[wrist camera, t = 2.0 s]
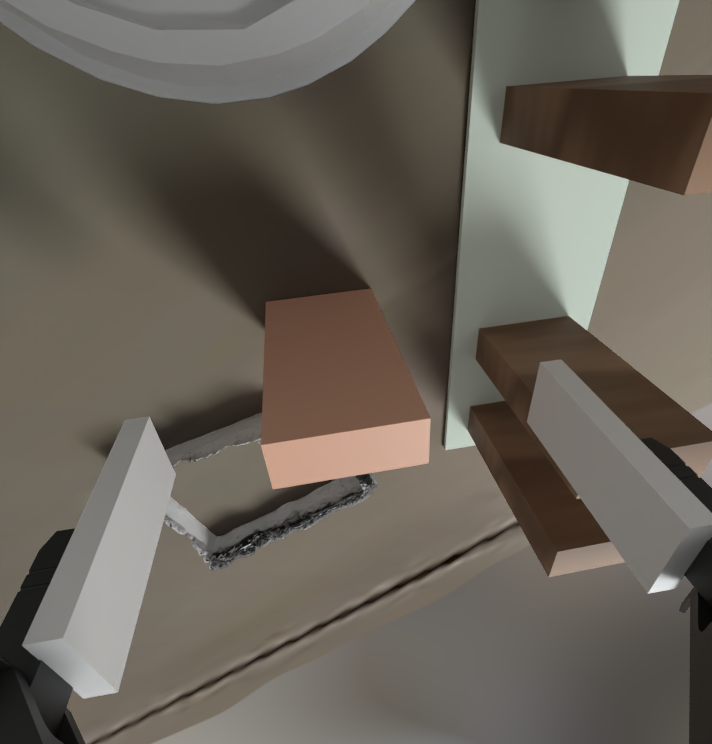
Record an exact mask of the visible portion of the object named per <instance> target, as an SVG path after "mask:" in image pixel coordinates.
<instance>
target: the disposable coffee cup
mask: <svg viewBox="0 0 712 744" xmlns="http://www.w3.org/2000/svg"><path fill="white" fill-rule="evenodd" d="M414 1H415V0H0V22H1V23H2V24H4V25H5V26H7V27H8V28H9V29H11V30H12V31H14V32H15V33H16V34H18V35H19V36H20V37H22V38H23V39H25V40H26V41H27V42H29V43H30V44H32V45H33V46H35V47H37V48H39V49H41V50H43V51H45V52H47V53H49V54H51V55H53V56H55V57H57V58H59V59H61V60H63V61H65V62H67V63H69V64H71V65H73V66H75V67H77V68H79V69H81V70H83V71H85V72H87V73H89V74H91V75H93V76H94V77H96V78H98V79H101V80H104V81H107V82H111V83H114V84H117V85H120V86H124V87H127V88H130V89H133V90H137V91H140V92H143V93H147V94H150V95H153V96H156V97H163V98H171V99H180V100H188V101H197V102H205V103H213V104H218V103H226V102H234V101H242V100H251V99H259V98H267V97H272V96H275V95H278V94H281V93H284V92H287V91H290V90H293V89H296V88H299V87H302V86H305V85H308V84H310V83H312V82H314V81H316V80H318V79H319V78H321V77H323V76H325V75H327V74H329V73H330V72H332V71H334V70H336V69H338V68H340V67H341V66H343V65H345V64H347V63H349V62H351V61H352V60H353V59H355V58H356V57H357V56H358V55H359V54H361V53H362V52H363V51H364V50H365V49H367V48H368V47H369V46H370V45H371V44H373V43H374V42H375V41H376V40H378V39H379V38H380V37H381V36H382V35H384V34H385V33H386V32H387V31H388V30H389V29H390V27H391V26H392V25H393V24H394V23H395V22H396V21H397V20H398V19H399V18H400V17H401V16H402V14H403V13H404V12H405V11H406V10H407V9H408V8H409V7H410V6H411V5H412V4H413V3H414Z"/></svg>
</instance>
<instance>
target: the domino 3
mask: <svg viewBox="0 0 712 744" xmlns="http://www.w3.org/2000/svg"><path fill="white" fill-rule="evenodd" d="M560 359H561V360H562V361H563V362H564V363H565V364H566V365H567V366H568V367H569V368H570V369H571V370H572V371H573V372H574V373H575V374H576V375H577V376H578V377H579V378H580V379H581V380H582V381H583V382H584V383H585V384H586V385H587V386H588V387H589V388H590V389H591V390H592V391H593V392H594V393H595V394H596V395H597V396H598V397H599V398H600V399H601V400H602V401H603V403H604V404H605V405H606V406H607V407H608V408H609V409H610V410H611V411H612V412H613V413H614V414H615V415H616V416H617V417H618V418H619V419H620V420H621V421H622V422H623V423H624V424H625V425H626V426H627V427H628V428H629V429H630V430H631V431H632V432H633V433H634V434H635V435H636V436H637V437H638V438H639V439H644V438H653V439H655V440H657V441H658V442H660V443H662V444H663V445H665V446H667V447H669V448H670V449H672V450H673V451H674V452H675V453H676V454H677V455H678V456H679V457H680V458H681V459H682V460H683V461H684V462H685V463H686V466H689V467H690V468H691V469H692V470H693V471H694V472H695V473H696V474H697V475H698V477H700V476H701V475H702V473H703V471H704V470H705V468H706V466H707V465H708V463H709V461H710V460H711V458H712V431H711V430H710V429H709V428H707V427H706V426H705V425H704V424H702V423H701V422H700V421H699V420H697V419H696V418H695V417H694V416H692V415H691V414H690V413H689V412H687V411H686V410H685V409H684V408H682V407H681V406H680V405H679V404H678V403H676V402H675V401H674V400H673V399H671V398H670V397H669V396H668V395H666V394H665V393H664V392H663V391H661V390H660V389H659V388H658V387H656V386H655V385H654V384H653V383H651V382H650V381H649V380H648V379H646V378H645V377H644V376H643V375H641V374H640V373H639V372H638V371H636V370H635V369H634V368H633V367H632V366H630V365H629V364H628V363H627V362H625V361H624V360H623V359H622V358H620V357H619V356H618V355H617V354H615V353H614V352H613V351H612V350H610V349H609V348H608V347H607V346H605V345H604V344H603V343H602V342H600V341H599V340H598V339H597V338H595V337H594V336H593V335H592V334H590V333H589V332H588V331H587V330H586V329H584V328H583V327H582V326H581V325H579V324H578V323H577V322H576V321H574V320H573V319H572V318H571V317H569V316H564V317H557V318H550V319H543V320H536V321H529V322H522V323H514V324H507V325H500V326H493V327H486V328H479V332H478V341H477V350H476V361H477V362H478V363H479V365H480V366H481V367H482V369H483V370H484V372H485V373H486V374H487V376H488V377H489V379H490V380H491V381H492V383H493V384H494V386H495V387H496V388H497V390H498V391H499V392H500V394H501V395H502V397H503V398H504V399H505V401H506V402H507V404H508V405H509V406H510V408H511V409H512V411H513V412H514V413H515V415H516V416H517V417H518V419H519V420H520V422H521V423H522V424H523V426H524V427H525V429H526V430H527V431H528V433H529V434H530V436H531V437H532V438H533V440H534V441H535V442H536V444H537V445H538V447H539V448H540V449H541V451H542V452H543V454H544V455H545V456H546V458H547V459H548V461H549V462H550V463H551V465H552V466H553V467H554V469H555V470H556V472H557V473H558V474H559V476H560V477H561V479H562V480H563V481H564V483H565V484H566V486H567V487H568V488H569V490H570V491H571V492H572V494H573V495H574V497H575V498H576V499H580V497H579V495H578V494H577V493H576V491H575V490H574V488H573V487H572V485H571V484H570V483H569V481H568V480H567V478H566V477H565V476H564V474H563V473H562V471H561V470H560V468H559V467H558V466H557V464H556V463H555V461H554V460H553V458H552V457H551V456H550V454H549V453H548V451H547V450H546V449H545V447H544V446H543V444H542V443H541V441H540V440H539V439H538V437H537V436H536V434H535V433H534V432H533V430H532V429H531V427H530V426H529V424H528V423H527V419H528V414H529V410H530V405H531V401H532V396H533V392H534V387H535V383H536V378H537V374H538V369H539V365H540V362H545V361H553V360H560Z"/></svg>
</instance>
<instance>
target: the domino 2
mask: <svg viewBox="0 0 712 744" xmlns="http://www.w3.org/2000/svg"><path fill="white" fill-rule="evenodd" d="M500 143H502V144H505V145H509V146H512V147H516V148H519V149H523V150H526V151H530V152H534V153H537V154H541V155H544V156H548V157H551V158H555V159H558V160H562V161H565V162H569V163H572V164H576V165H579V166H583V167H586V168H590V169H593V170H597V171H600V172H604V173H607V174H611V175H614V176H618V177H622V178H625V179H629V180H632V181H636V182H639V183H643V184H646V185H650V186H653V187H657V188H660V189H664V190H667V191H671V192H674V193H678V194H681V195H691V194H699V193H708V192H712V75H666V76H620V77H608V78H597V79H585V80H574V81H562V82H551V83H539V84H528V85H516V86H506V92H505V101H504V110H503V119H502V128H501V137H500Z"/></svg>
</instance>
